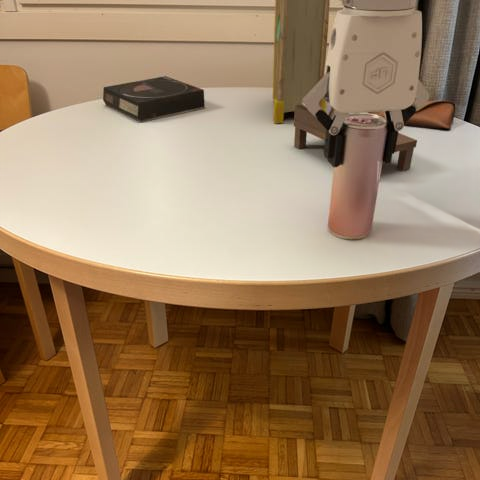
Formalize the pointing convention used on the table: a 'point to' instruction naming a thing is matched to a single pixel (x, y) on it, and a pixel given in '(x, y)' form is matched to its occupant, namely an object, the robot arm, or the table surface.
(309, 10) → the decorative book
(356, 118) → the beverage can
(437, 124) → the sunglasses case
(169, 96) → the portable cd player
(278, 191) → the table surface
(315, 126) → the wooden step stool
